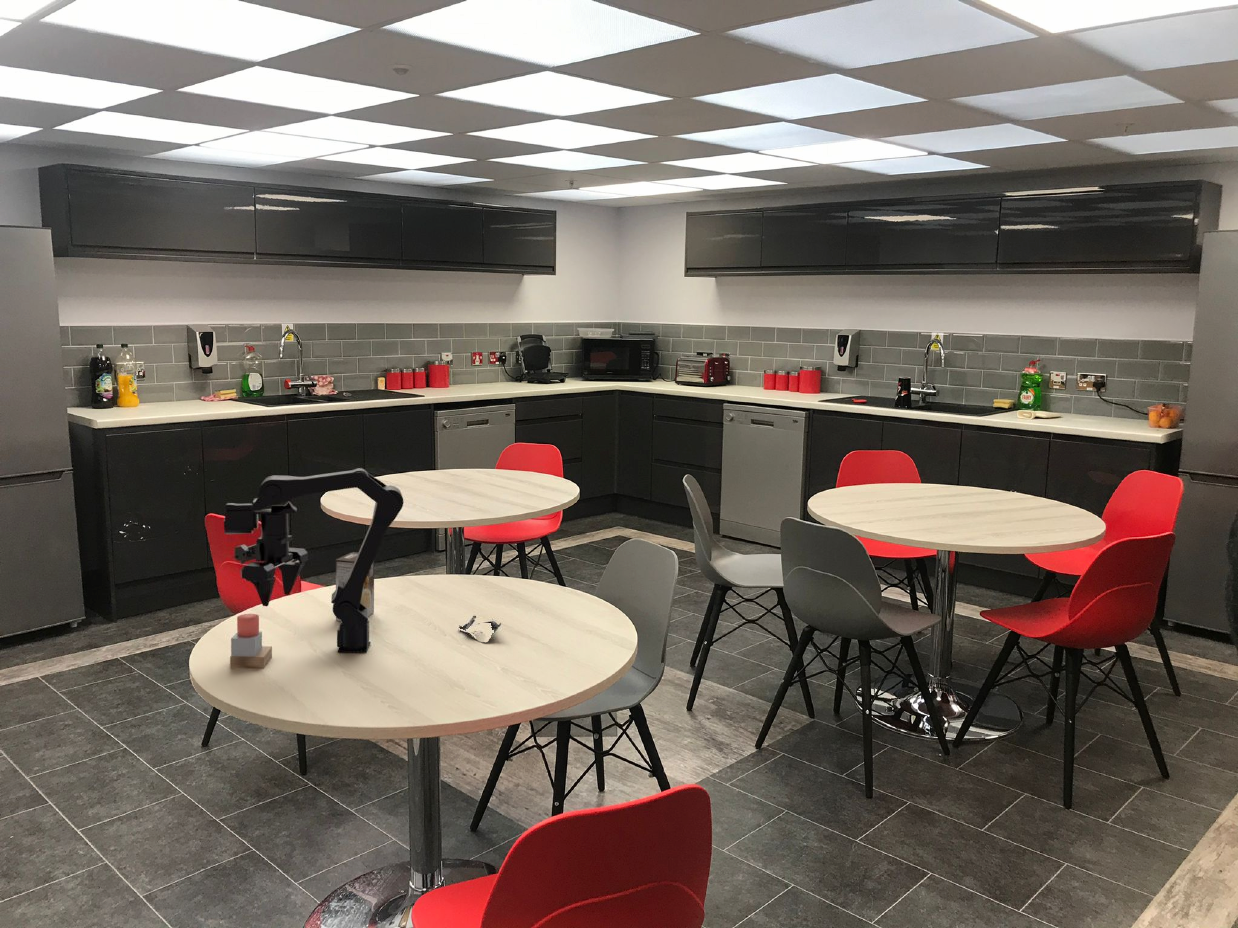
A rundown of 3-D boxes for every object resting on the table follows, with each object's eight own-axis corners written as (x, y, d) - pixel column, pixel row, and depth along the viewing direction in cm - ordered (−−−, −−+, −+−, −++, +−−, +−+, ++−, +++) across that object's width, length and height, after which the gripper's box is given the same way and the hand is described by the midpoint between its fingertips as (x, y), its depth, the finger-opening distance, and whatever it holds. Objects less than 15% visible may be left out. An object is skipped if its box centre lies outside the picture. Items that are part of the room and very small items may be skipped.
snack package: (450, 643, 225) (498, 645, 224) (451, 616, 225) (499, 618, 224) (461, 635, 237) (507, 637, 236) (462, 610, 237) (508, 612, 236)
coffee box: (352, 610, 245) (352, 551, 243) (374, 613, 244) (375, 553, 241) (334, 620, 236) (335, 559, 234) (358, 623, 235) (358, 561, 232)
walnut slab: (272, 659, 209) (272, 646, 208) (263, 670, 202) (263, 657, 201) (239, 658, 208) (239, 645, 207) (230, 670, 201) (230, 656, 200)
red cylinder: (261, 631, 206) (261, 613, 205) (255, 637, 201) (255, 619, 201) (241, 630, 205) (240, 613, 205) (234, 637, 201) (234, 619, 200)
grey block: (261, 648, 206) (261, 631, 206) (255, 656, 201) (254, 638, 201) (238, 648, 206) (238, 630, 205) (231, 656, 201) (231, 638, 200)
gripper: (264, 522, 218) (265, 586, 221) (217, 539, 200) (219, 609, 202) (308, 525, 217) (309, 590, 219) (265, 542, 198) (266, 613, 201)
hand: (276, 600), depth 210 cm, fingers open, 9 cm apart
